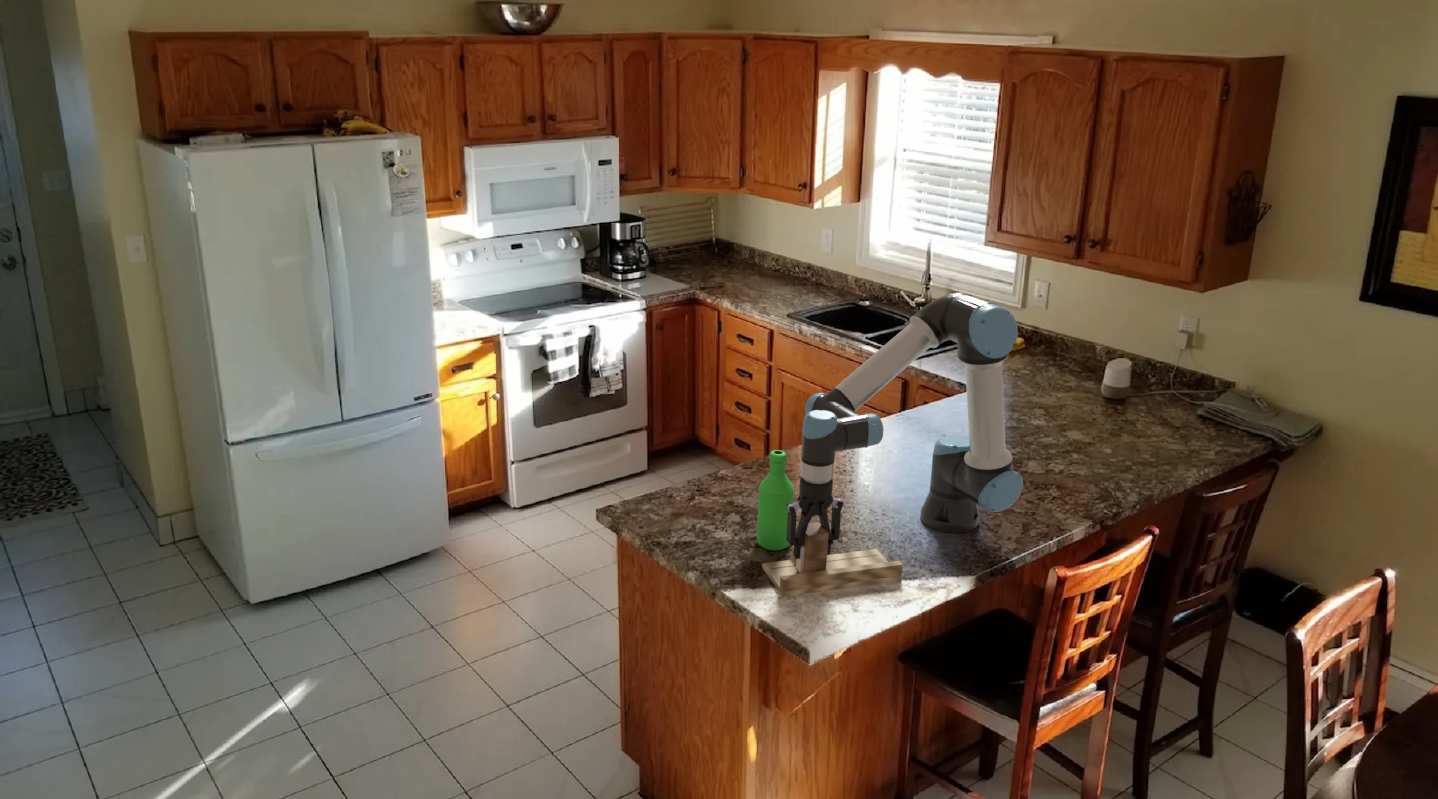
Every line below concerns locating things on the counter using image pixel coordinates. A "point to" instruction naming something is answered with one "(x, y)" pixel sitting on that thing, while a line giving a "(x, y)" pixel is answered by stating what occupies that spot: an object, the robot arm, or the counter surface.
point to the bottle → (774, 504)
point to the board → (828, 567)
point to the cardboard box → (815, 548)
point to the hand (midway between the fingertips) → (811, 567)
